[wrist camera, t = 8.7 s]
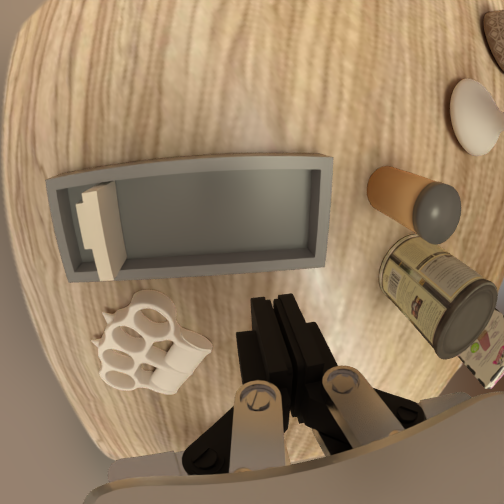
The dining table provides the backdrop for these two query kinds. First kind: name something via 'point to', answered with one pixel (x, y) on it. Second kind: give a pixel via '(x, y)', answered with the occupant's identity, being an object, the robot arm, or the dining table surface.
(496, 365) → the candy bar box
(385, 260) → the coffee can
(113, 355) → the knuckle duster
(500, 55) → the planter
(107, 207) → the plate
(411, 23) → the dining table surface
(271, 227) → the grey rectangular tray
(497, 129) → the flower in vase
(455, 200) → the jar
